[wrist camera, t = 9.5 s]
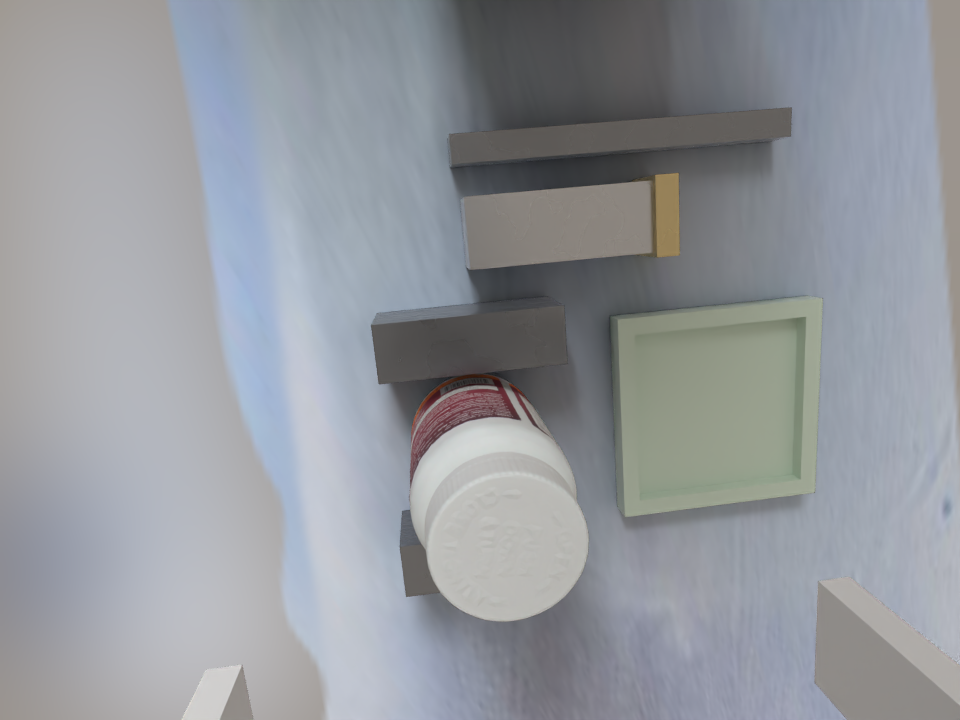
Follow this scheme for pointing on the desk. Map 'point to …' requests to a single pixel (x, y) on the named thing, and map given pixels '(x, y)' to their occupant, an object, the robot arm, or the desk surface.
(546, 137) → the rail
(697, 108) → the desk surface
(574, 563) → the pill bottle
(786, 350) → the tray
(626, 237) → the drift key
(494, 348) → the socket
